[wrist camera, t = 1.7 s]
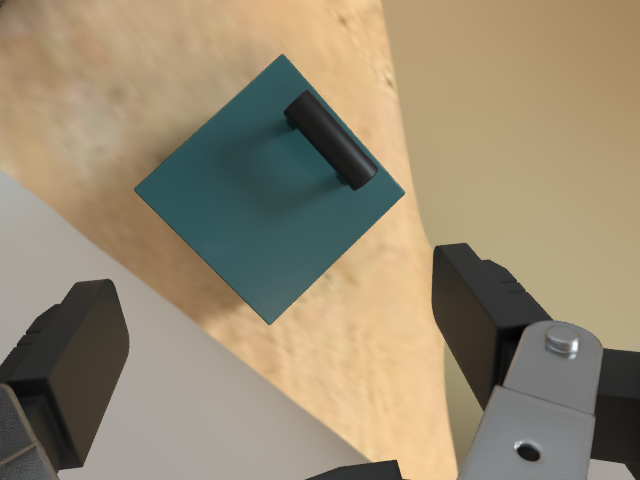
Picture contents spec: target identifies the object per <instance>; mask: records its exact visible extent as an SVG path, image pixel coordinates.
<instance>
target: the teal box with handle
mask: <svg viewBox="0 0 640 480" xmlns="http://www.w3.org/2000/svg"><path fill="white" fill-rule="evenodd" d="M134 191H135V192H136V193H137V194H138V195H139V196H140V197H141V198H142V199H143V200H144V201H145V202H146V203H147V204H148V205H149V206H150V207H151V208H152V209H153V210H154V211H155V212H156V213H157V214H158V215H159V216H160V217H161V218H162V219H163V220H164V221H165V222H166V223H167V224H168V225H169V226H170V227H171V228H172V229H173V230H174V231H175V232H176V233H177V234H178V235H179V236H180V237H181V238H182V239H183V240H184V241H185V242H186V243H187V244H188V245H189V246H190V247H191V248H192V249H193V250H194V251H195V252H196V253H197V254H198V255H199V256H200V257H201V258H202V259H203V260H204V261H205V262H206V263H207V264H208V265H209V266H210V267H211V268H212V269H213V270H214V271H215V272H216V273H217V274H218V275H219V276H220V277H221V278H222V279H223V280H224V281H225V282H226V283H227V284H228V285H229V286H230V287H231V288H232V289H233V290H234V291H235V292H236V293H237V294H238V295H239V296H240V297H241V298H242V299H243V300H244V301H245V302H246V303H247V304H248V305H249V306H250V307H251V308H252V309H253V310H254V311H255V312H256V313H257V314H258V315H259V316H260V317H261V318H262V319H263V320H264V321H265V322H266V323H267V324H268V325H271V324H272V323H273V322H274V321H275V320H276V319H277V318H278V317H279V316H280V315H281V314H282V313H283V312H284V311H285V310H286V309H287V308H288V307H289V306H290V305H291V304H292V303H293V302H294V301H296V300H297V299H298V298H299V297H300V296H301V295H302V294H303V293H304V292H305V291H306V290H307V289H308V288H309V287H310V286H311V285H312V284H313V283H314V282H315V281H316V280H317V279H318V278H319V277H320V276H321V275H322V274H323V273H324V272H325V271H326V270H327V269H328V268H329V267H330V266H331V265H332V264H333V263H335V262H336V261H337V260H338V259H339V258H340V257H341V256H342V255H343V254H344V253H345V252H346V251H347V250H348V249H349V248H350V247H351V246H352V245H353V244H354V243H355V242H356V241H357V240H358V239H359V238H360V237H361V236H362V235H363V234H364V233H365V232H366V231H367V230H368V229H369V228H370V227H371V226H372V225H374V224H375V223H376V222H377V221H378V220H379V219H380V218H381V217H382V216H383V215H384V214H385V213H386V212H387V211H388V210H389V209H390V208H391V207H392V206H393V205H394V204H395V203H396V202H397V201H398V200H399V199H400V198H401V197H402V196H403V195H404V194H405V191H404V190H403V189H402V188H401V187H400V186H399V184H398V183H397V182H396V181H395V180H394V179H393V178H392V176H391V175H390V174H389V173H388V172H387V171H386V170H385V169H384V167H383V166H382V165H381V164H380V163H379V162H378V161H377V159H376V158H375V157H374V156H373V155H372V154H371V153H370V152H369V150H368V149H367V148H366V147H365V146H364V145H363V144H362V142H361V141H360V140H359V139H358V138H357V137H356V136H355V135H354V133H353V132H352V131H351V130H350V129H349V128H348V127H347V125H346V124H345V123H344V122H343V121H342V120H341V119H340V118H339V116H338V115H337V114H336V113H335V112H334V111H333V110H332V108H331V107H330V106H329V105H328V104H327V103H326V102H325V101H324V99H323V98H322V97H321V96H320V95H319V94H318V93H317V91H316V90H315V89H314V88H313V87H312V86H311V85H310V84H309V82H308V81H307V80H306V79H305V78H304V77H303V76H302V74H301V73H300V72H299V71H298V70H297V69H296V68H295V67H294V65H293V64H292V63H291V62H290V61H289V60H288V59H287V57H286V56H285V55H284V54H281V55H280V56H279V57H278V58H277V59H276V60H275V61H273V62H272V63H271V64H270V65H269V66H268V67H267V68H266V69H265V70H264V71H262V72H261V73H260V74H259V75H258V76H257V77H256V78H255V79H254V80H253V81H252V82H250V83H249V84H248V85H247V86H246V87H245V88H244V89H243V90H242V91H241V92H239V93H238V94H237V95H236V96H235V97H234V98H233V99H232V100H231V101H230V102H229V103H227V104H226V105H225V106H224V107H223V108H222V109H221V110H220V111H219V112H218V113H216V114H215V115H214V116H213V117H212V118H211V119H210V120H209V121H208V122H207V123H206V124H204V125H203V126H202V127H201V128H200V129H199V130H198V131H197V132H196V133H195V134H193V135H192V136H191V137H190V138H189V139H188V140H187V141H186V142H185V143H184V144H183V145H181V146H180V147H179V148H178V149H177V150H176V151H175V152H174V153H173V154H172V155H170V156H169V157H168V158H167V159H166V160H165V161H164V162H163V163H162V164H161V165H160V166H158V167H157V168H156V169H155V170H154V171H153V172H152V173H151V174H150V175H149V176H147V177H146V178H145V179H144V180H143V181H142V182H141V183H140V184H139V185H138V186H137V187H135V188H134Z"/></svg>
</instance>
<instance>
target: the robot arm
mask: <svg viewBox="0 0 640 480" xmlns="http://www.w3.org/2000/svg"><path fill="white" fill-rule="evenodd" d="M3 1H4V0H0V7H1V5H2V3H3ZM432 310H433V315H434V318H435V321H436V324H437V326H438V327H439V329H440V331H441V333H442V335H443V337H444V339H445V340H446V342H447V344H448V346H449V348H450V350H451V352H452V354H453V355H454V357H455V359H456V361H457V363H458V365H459V366H460V369H461V370H462V372H463V374H464V376H465V378H466V380H467V382H468V383H469V385H470V387H471V389H472V391H473V393H474V394H475V397H476V398H477V400H478V402H479V404H480V406H481V408H482V410H483V412H484V414H483V416H482V418H481V421H480V423H479V426H478V428H477V431H476V433H475V436H474V438H473V440H472V443H471V445H470V448H469V450H468V453H467V455H466V458H465V460H464V463H463V465H462V467H461V470H460V472H459V475H458V477H457V480H587V474H588V468H589V461H590V459H597V460H603V461H610V462H617V463H623V464H625V465H626V467H627V468H628V470H629V471H630V472H631V473H632V475H633V477H634V478H635V479H636V480H640V352H633V351H623V350H613V349H606V348H603V347H602V344H601V342H600V341H599V340H598V339H597V338H596V337H595V336H594V335H593V334H592V333H590V332H589V331H587V330H586V329H583V328H581V327H579V326H577V325H574V324H570V323H567V322H562V321H554V320H553V319H552V318H551V317H550V316H549V315H548V314H547V313H546V312H545V310H544V309H543V308H542V307H541V306H540V305H539V304H538V303H537V302H536V301H535V300H534V298H533V297H532V296H531V295H530V294H529V293H528V292H526V291H525V289H524V288H523V287H522V285H521V284H520V283H519V282H518V283H517V280H516V279H515V278H514V277H513V276H512V274H511V273H509V271H508V270H507V269H506V268H504V267H502V266H500V265H498V264H496V263H495V262H493V261H491V260H481V259H480V258H479V257H478V256H477V255H476V254H475V252H474V251H473V250H472V249H471V248H470V246H468V244H466V243H460V244H450V245H440V246H436V247H435V249H434V253H433V274H432ZM128 353H129V334H128V330H127V326H126V323H125V319H124V316H123V313H122V309H121V306H120V302H119V299H118V295H117V292H116V288H115V286H114V283H113V282H112V281H111V280H110V279H103V280H93V281H83V282H77V283H75V284H74V286H73V287H72V288H71V290H70V291H69V292H68V294H67V295H66V297H65V298H64V300H63V301H62V303H61V304H55V305H54V306H52V307H51V308H50V309H48V310H47V311H45V312H44V313H43V314H41V315H40V316H39V317H37V318H36V319H35V321H34V322H33V324H32V325H31V326H30V327H29V329H28V330H27V331H26V335H23V337H22V338H21V339H20V340H19V342H18V343H17V347H15V348H13V350H12V351H11V352H10V354H9V355H8V357H7V358H6V359H5V360H4V362H3V363H2V364H1V366H0V480H59V478H58V476H57V473H58V471H59V470H63V469H71V468H79V467H83V465H84V462H85V460H86V457H87V455H88V452H89V450H90V448H91V445H92V442H93V440H94V438H95V435H96V433H97V430H98V428H99V425H100V423H101V421H102V418H103V416H104V413H105V411H106V408H107V406H108V404H109V401H110V399H111V396H112V394H113V391H114V389H115V386H116V384H117V381H118V379H119V377H120V374H121V372H122V369H123V367H124V364H125V362H126V359H127V357H128ZM306 480H408V479H402V477H401V473H400V469H399V466H398V462H397V460H390V461H382V462H375V463H367V464H360V465H352V466H344V467H338V468H335V469H333V470H330V471H328V472H325V473H322V474H319V475H317V476H314V477H311V478H309V479H306Z"/></svg>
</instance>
